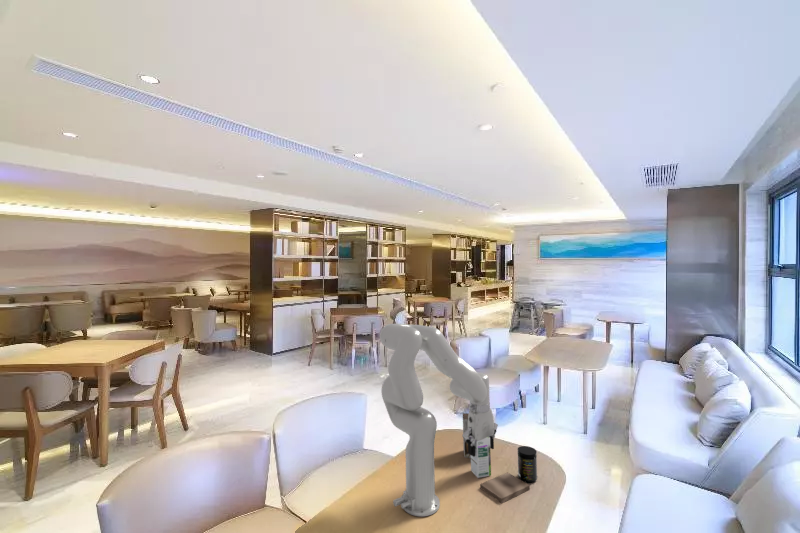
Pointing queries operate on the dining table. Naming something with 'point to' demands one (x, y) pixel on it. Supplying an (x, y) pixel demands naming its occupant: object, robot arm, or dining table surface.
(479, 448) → the syrup box
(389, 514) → the dining table surface
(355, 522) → the dining table surface
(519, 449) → the supplement container
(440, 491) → the dining table surface
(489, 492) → the walnut serving board
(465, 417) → the coffee box
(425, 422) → the robot arm
